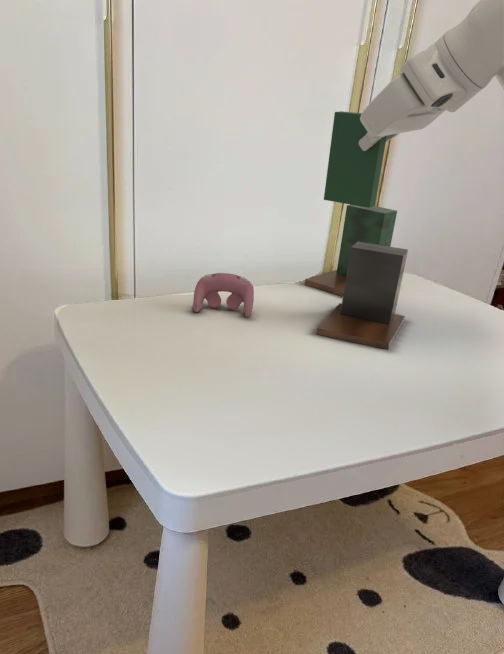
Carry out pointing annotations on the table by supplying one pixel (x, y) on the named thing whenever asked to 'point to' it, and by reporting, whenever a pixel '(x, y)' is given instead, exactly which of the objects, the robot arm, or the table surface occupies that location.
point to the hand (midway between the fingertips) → (367, 146)
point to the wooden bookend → (369, 297)
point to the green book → (352, 163)
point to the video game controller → (226, 283)
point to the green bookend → (358, 227)
